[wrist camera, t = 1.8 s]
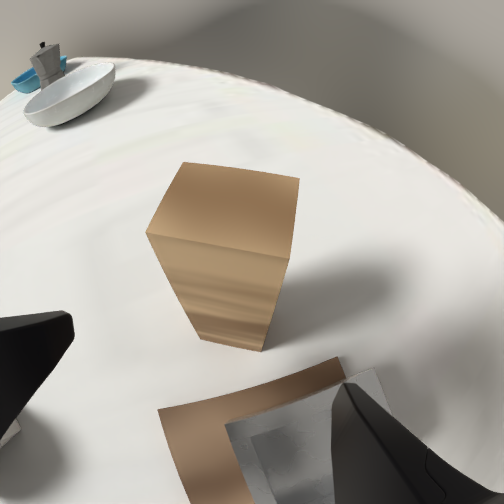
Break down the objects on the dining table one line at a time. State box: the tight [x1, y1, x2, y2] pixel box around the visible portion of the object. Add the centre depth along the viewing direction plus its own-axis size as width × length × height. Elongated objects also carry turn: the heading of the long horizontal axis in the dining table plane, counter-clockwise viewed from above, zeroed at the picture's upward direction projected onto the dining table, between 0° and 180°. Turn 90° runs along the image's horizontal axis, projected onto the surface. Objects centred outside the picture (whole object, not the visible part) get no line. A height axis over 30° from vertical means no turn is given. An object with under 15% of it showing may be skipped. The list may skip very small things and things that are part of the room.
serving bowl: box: [23, 63, 115, 127], centre depth 38 cm, size 21×21×7 cm
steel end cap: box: [224, 368, 393, 504], centre depth 12 cm, size 8×8×4 cm
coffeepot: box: [30, 42, 65, 91], centre depth 42 cm, size 15×9×18 cm, turn 24°
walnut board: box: [158, 357, 346, 504], centre depth 13 cm, size 14×13×1 cm
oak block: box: [145, 162, 300, 352], centre depth 14 cm, size 4×4×13 cm
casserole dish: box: [11, 56, 67, 93], centre depth 61 cm, size 37×22×7 cm, turn 55°
